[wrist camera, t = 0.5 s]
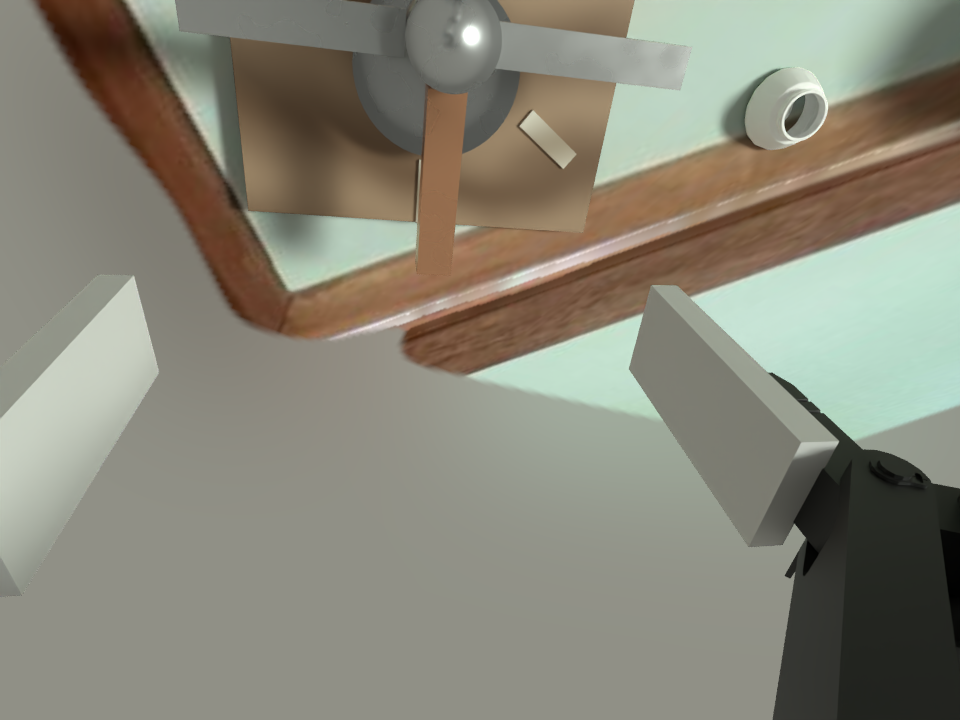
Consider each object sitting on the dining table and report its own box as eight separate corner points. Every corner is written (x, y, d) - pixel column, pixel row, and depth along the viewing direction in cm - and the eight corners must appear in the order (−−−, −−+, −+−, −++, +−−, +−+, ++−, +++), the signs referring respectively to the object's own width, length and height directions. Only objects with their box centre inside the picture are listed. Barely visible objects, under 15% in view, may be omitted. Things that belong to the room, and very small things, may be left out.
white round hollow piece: (822, 63, 37) (750, 70, 36) (853, 68, 34) (776, 75, 34) (802, 143, 39) (735, 150, 39) (830, 153, 37) (758, 160, 36)
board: (203, -294, 24) (191, -312, 23) (666, -194, 28) (681, -203, 27) (253, 203, 36) (247, 211, 35) (576, 225, 40) (583, 233, 39)
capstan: (190, -314, 23) (93, -467, 15) (682, -205, 27) (799, -283, 19) (247, 212, 34) (208, 273, 27) (584, 234, 38) (633, 292, 31)
